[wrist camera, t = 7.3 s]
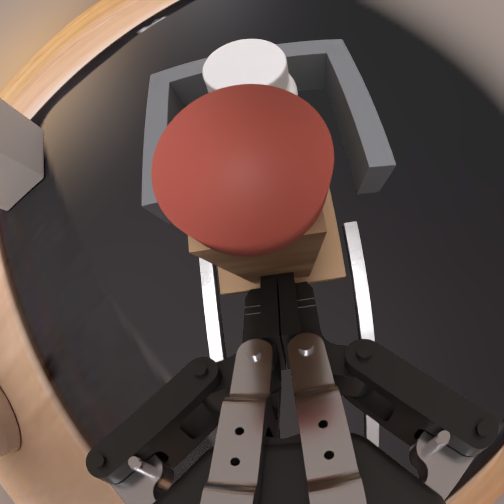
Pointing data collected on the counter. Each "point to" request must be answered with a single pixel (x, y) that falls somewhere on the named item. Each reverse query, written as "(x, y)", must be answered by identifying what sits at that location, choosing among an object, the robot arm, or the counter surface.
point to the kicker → (251, 186)
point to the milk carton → (18, 155)
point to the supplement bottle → (248, 66)
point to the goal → (306, 78)
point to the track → (360, 299)
